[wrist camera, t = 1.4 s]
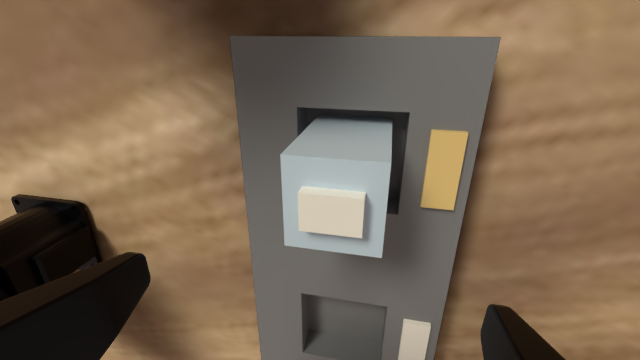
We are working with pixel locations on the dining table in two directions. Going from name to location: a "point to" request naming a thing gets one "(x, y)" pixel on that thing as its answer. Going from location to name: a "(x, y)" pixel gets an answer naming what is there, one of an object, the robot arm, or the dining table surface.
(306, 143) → the plug
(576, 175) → the dining table surface
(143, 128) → the dining table surface
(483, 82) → the panel
